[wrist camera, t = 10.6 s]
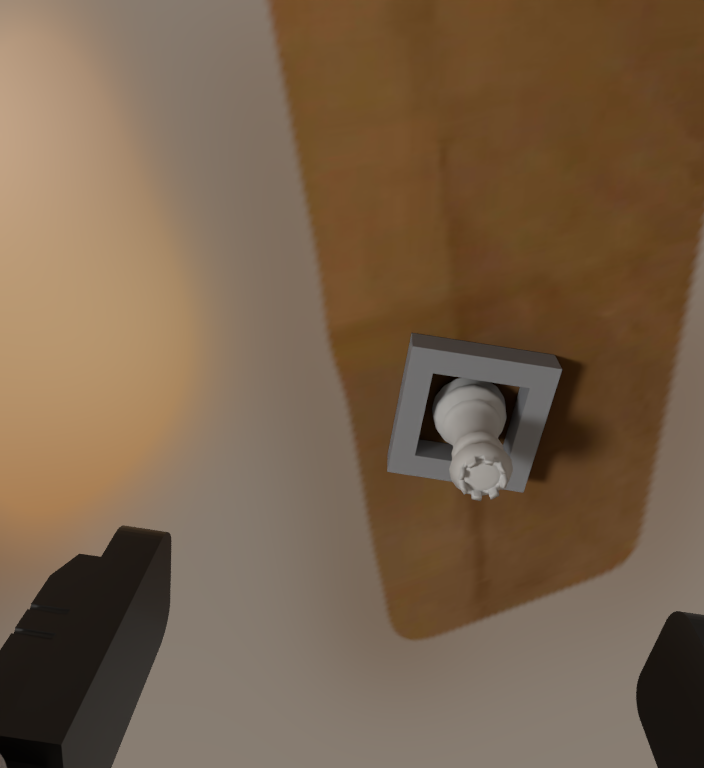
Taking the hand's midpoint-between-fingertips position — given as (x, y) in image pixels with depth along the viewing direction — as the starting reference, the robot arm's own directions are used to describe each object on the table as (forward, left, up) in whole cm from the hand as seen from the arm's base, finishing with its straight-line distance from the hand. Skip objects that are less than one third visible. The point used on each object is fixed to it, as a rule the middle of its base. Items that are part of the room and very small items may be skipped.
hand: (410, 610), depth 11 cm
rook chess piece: (+10, +6, -28) cm, 31 cm away
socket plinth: (+11, +6, -28) cm, 31 cm away
